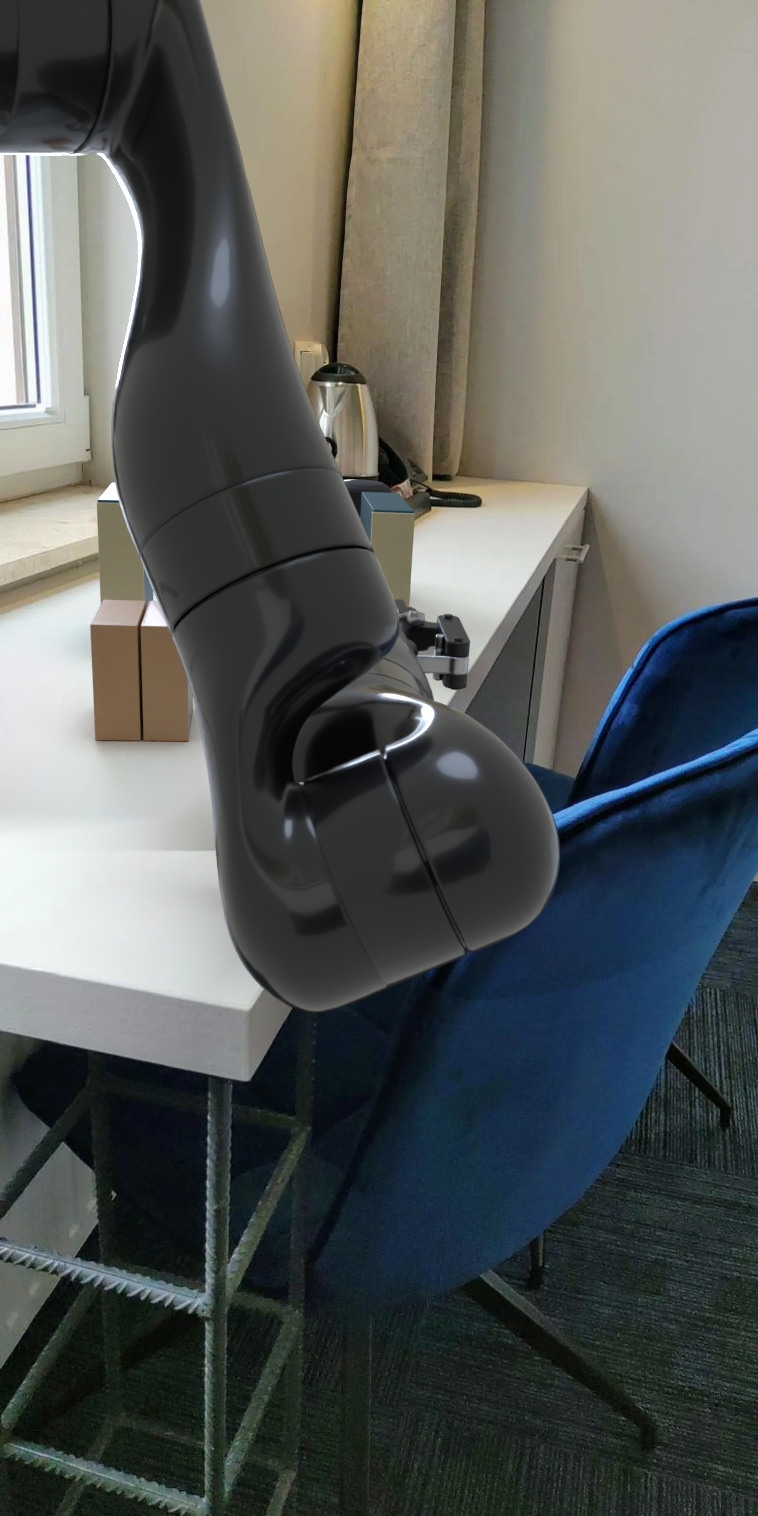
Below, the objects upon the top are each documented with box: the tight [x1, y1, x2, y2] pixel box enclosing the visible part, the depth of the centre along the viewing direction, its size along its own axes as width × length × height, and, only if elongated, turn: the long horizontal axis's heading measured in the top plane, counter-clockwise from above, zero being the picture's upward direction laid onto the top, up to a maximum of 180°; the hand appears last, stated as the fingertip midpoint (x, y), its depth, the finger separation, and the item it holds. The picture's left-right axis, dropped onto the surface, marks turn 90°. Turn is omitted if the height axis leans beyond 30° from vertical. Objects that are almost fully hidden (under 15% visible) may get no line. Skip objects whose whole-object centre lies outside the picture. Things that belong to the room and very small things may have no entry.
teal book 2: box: [360, 492, 416, 607], centre depth 98 cm, size 4×10×13 cm, turn 6°
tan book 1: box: [89, 600, 146, 742], centre depth 77 cm, size 3×7×8 cm, turn 6°
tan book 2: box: [141, 600, 194, 742], centre depth 77 cm, size 3×7×8 cm, turn 6°
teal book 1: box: [96, 482, 155, 609], centre depth 95 cm, size 4×10×13 cm, turn 6°
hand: (322, 614), depth 65 cm, fingers open, 8 cm apart
